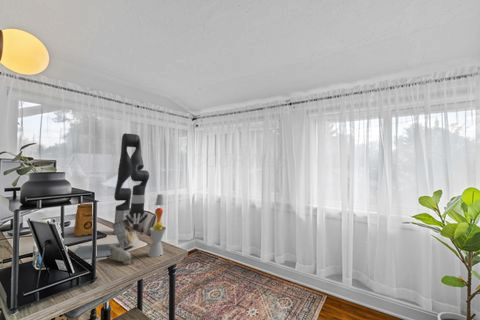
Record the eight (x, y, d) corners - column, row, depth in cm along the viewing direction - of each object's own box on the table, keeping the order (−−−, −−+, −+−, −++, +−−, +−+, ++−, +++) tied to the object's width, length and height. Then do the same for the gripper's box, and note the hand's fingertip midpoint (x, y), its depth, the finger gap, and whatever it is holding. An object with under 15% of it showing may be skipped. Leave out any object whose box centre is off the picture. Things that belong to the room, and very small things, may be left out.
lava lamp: (145, 253, 126) (150, 193, 128) (160, 250, 132) (165, 193, 133) (150, 258, 119) (155, 195, 121) (166, 255, 125) (170, 195, 126)
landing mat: (78, 247, 128) (78, 246, 128) (120, 243, 138) (120, 242, 138) (70, 260, 110) (70, 259, 110) (119, 255, 120) (119, 254, 120)
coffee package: (97, 234, 152) (100, 203, 153) (75, 238, 143) (78, 205, 144) (93, 231, 159) (96, 201, 160) (72, 234, 150) (75, 202, 151)
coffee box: (131, 244, 137) (122, 221, 139) (139, 241, 136) (131, 217, 138) (120, 250, 128) (112, 224, 130) (129, 246, 127) (120, 221, 129)
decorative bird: (124, 266, 108) (125, 251, 108) (104, 259, 115) (105, 245, 115) (133, 263, 113) (135, 248, 113) (113, 256, 120) (115, 242, 120)
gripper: (148, 200, 141) (146, 227, 140) (126, 201, 134) (123, 229, 134) (149, 202, 134) (147, 230, 133) (125, 203, 128) (123, 232, 127)
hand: (135, 229), depth 133 cm, fingers closed
